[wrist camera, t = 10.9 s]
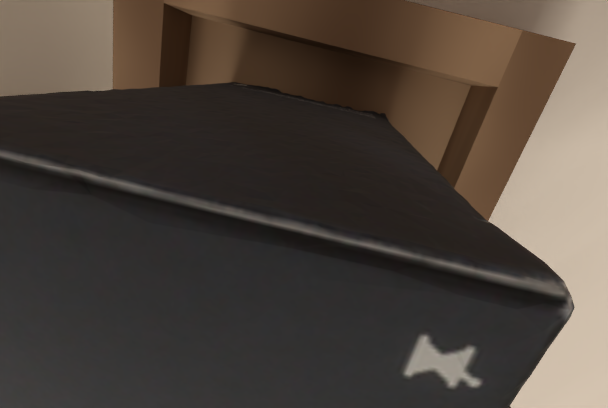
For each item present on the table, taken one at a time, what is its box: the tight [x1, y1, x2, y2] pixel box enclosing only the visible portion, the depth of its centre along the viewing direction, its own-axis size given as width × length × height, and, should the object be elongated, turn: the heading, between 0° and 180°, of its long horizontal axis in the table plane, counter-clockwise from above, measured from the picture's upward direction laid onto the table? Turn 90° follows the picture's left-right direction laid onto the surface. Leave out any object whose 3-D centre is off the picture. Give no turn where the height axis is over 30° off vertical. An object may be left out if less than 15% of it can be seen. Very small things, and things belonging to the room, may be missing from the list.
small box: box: [0, 82, 574, 408], centre depth 9 cm, size 11×6×10 cm, turn 168°
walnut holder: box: [113, 0, 575, 221], centre depth 13 cm, size 13×16×3 cm
